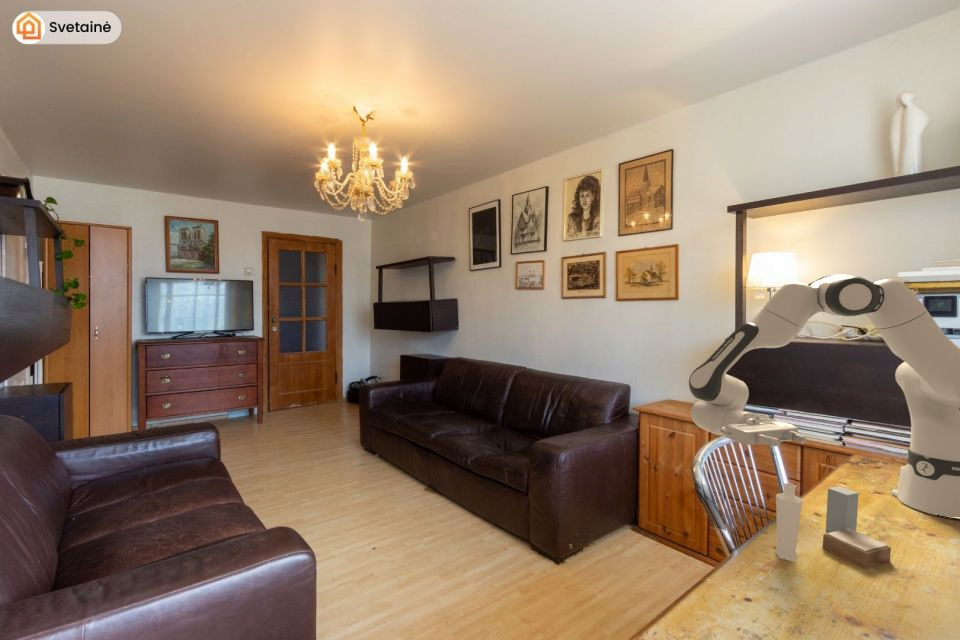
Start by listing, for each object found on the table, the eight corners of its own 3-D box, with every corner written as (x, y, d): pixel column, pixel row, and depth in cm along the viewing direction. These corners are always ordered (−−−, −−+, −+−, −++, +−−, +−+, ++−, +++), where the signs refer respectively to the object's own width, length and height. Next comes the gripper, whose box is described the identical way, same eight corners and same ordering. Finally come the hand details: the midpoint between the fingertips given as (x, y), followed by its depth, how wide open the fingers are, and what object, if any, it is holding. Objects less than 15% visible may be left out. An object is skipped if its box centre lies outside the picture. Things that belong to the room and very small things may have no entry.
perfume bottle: (804, 564, 91) (808, 490, 90) (780, 561, 92) (784, 488, 91) (793, 551, 95) (797, 482, 95) (770, 549, 96) (774, 479, 95)
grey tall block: (836, 527, 106) (839, 486, 106) (855, 536, 103) (858, 492, 102) (825, 530, 105) (828, 488, 105) (844, 538, 101) (847, 495, 101)
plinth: (846, 541, 100) (847, 527, 100) (889, 561, 93) (890, 545, 92) (822, 547, 97) (823, 532, 97) (865, 568, 90) (866, 552, 90)
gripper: (715, 417, 124) (763, 432, 111) (768, 414, 131) (818, 427, 118) (714, 440, 124) (761, 457, 111) (767, 435, 131) (817, 450, 118)
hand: (791, 441), depth 115 cm, fingers open, 8 cm apart
